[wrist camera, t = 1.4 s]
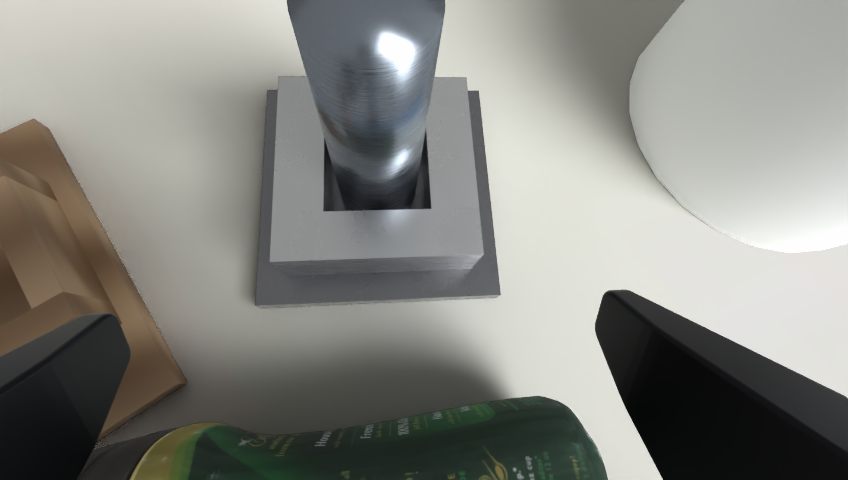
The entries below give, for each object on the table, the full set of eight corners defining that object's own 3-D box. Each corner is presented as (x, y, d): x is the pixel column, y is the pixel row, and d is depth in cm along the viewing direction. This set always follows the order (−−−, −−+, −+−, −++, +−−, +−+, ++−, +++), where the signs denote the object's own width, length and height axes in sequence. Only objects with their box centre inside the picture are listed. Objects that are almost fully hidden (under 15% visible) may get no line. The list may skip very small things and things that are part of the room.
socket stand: (495, 297, 22) (518, 284, 18) (261, 308, 21) (232, 296, 17) (475, 100, 25) (490, 54, 21) (272, 100, 24) (250, 51, 20)
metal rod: (390, 236, 21) (394, 92, 10) (325, 198, 22) (254, 15, 10) (429, 176, 22) (471, -17, 11) (366, 141, 23) (343, -83, 11)
